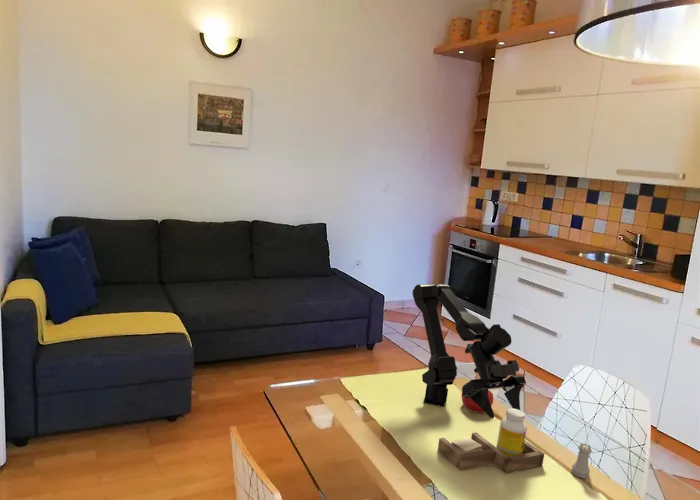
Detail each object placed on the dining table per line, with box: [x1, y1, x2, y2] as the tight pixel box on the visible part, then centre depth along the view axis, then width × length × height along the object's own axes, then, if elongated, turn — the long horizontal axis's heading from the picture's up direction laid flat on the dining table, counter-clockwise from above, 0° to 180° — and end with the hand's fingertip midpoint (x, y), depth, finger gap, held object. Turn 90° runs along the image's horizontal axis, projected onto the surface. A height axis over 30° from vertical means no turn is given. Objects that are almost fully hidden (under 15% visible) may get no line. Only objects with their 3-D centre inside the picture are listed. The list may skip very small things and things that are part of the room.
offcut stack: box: [451, 436, 482, 454], centre depth 137 cm, size 6×7×4 cm
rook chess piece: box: [570, 442, 593, 480], centre depth 134 cm, size 4×4×8 cm
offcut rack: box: [437, 432, 545, 475], centre depth 137 cm, size 14×24×4 cm, turn 116°
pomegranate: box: [461, 389, 494, 413], centre depth 166 cm, size 10×10×9 cm
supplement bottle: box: [495, 407, 528, 457], centre depth 138 cm, size 7×7×13 cm
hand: (506, 416), depth 140 cm, fingers open, 9 cm apart
